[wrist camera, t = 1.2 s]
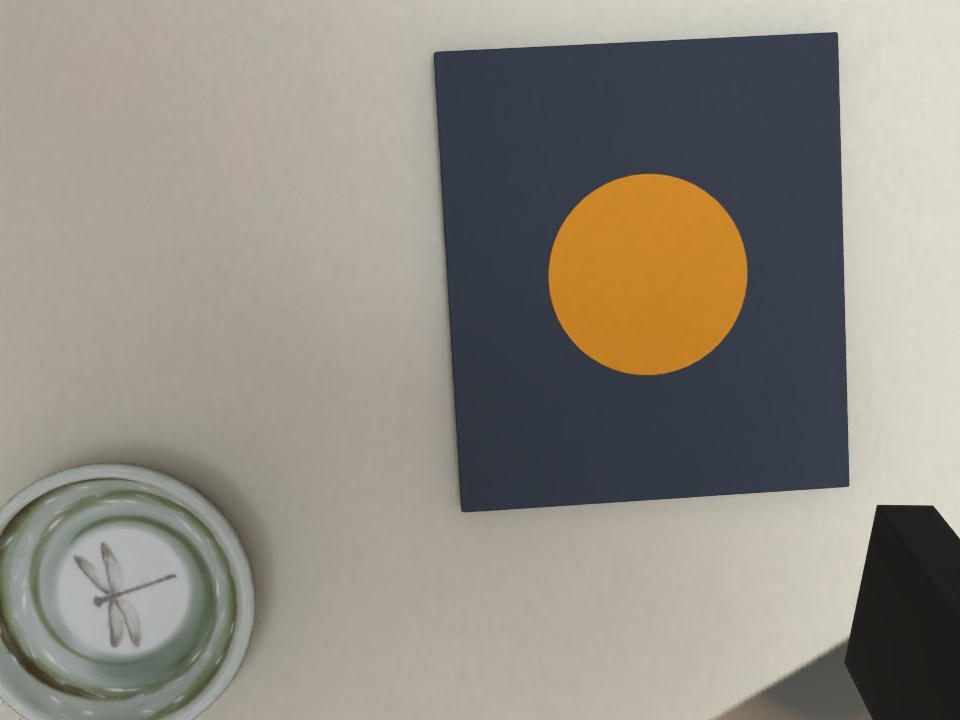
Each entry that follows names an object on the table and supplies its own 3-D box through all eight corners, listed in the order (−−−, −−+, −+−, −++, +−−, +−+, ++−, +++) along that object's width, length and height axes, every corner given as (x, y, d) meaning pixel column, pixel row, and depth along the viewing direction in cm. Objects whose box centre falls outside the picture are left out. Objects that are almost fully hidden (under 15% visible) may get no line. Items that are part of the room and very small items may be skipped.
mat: (434, 57, 32) (433, 50, 31) (829, 37, 33) (839, 30, 32) (461, 507, 33) (461, 513, 32) (840, 482, 34) (851, 487, 33)
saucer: (317, 626, 34) (308, 653, 31) (91, 762, 34) (63, 799, 31) (174, 401, 33) (152, 410, 30) (-59, 541, 33) (-99, 561, 30)
